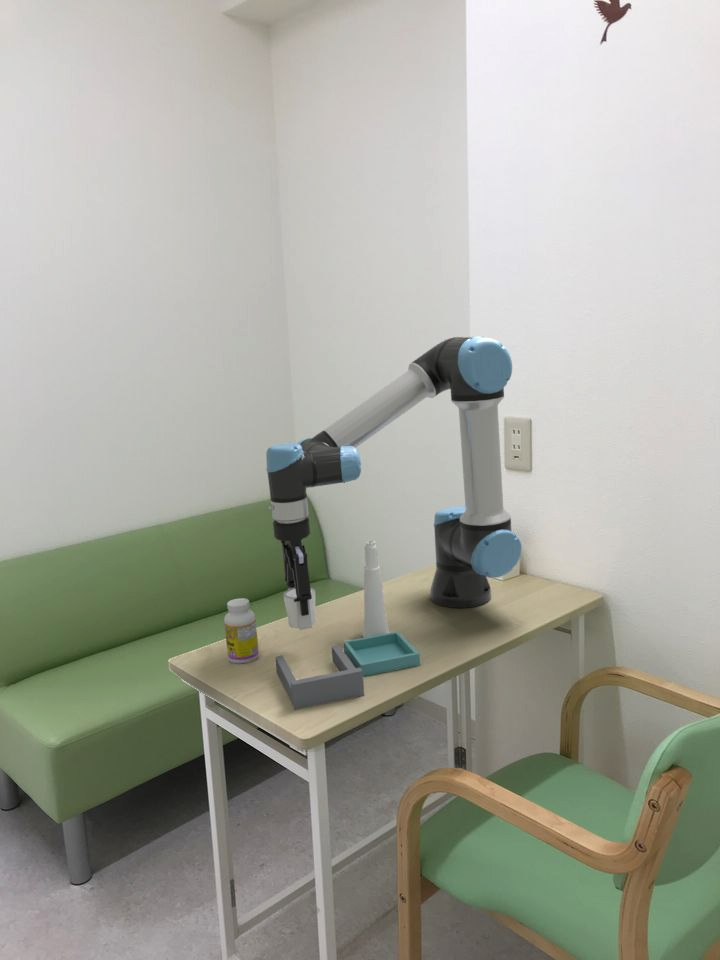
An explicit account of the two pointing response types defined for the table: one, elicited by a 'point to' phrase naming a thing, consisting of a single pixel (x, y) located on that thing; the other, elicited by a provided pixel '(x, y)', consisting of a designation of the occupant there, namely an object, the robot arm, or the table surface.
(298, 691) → the bay
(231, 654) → the supplement bottle
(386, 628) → the cosmetic bottle
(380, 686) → the table surface
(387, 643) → the tray
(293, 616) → the shot glass
